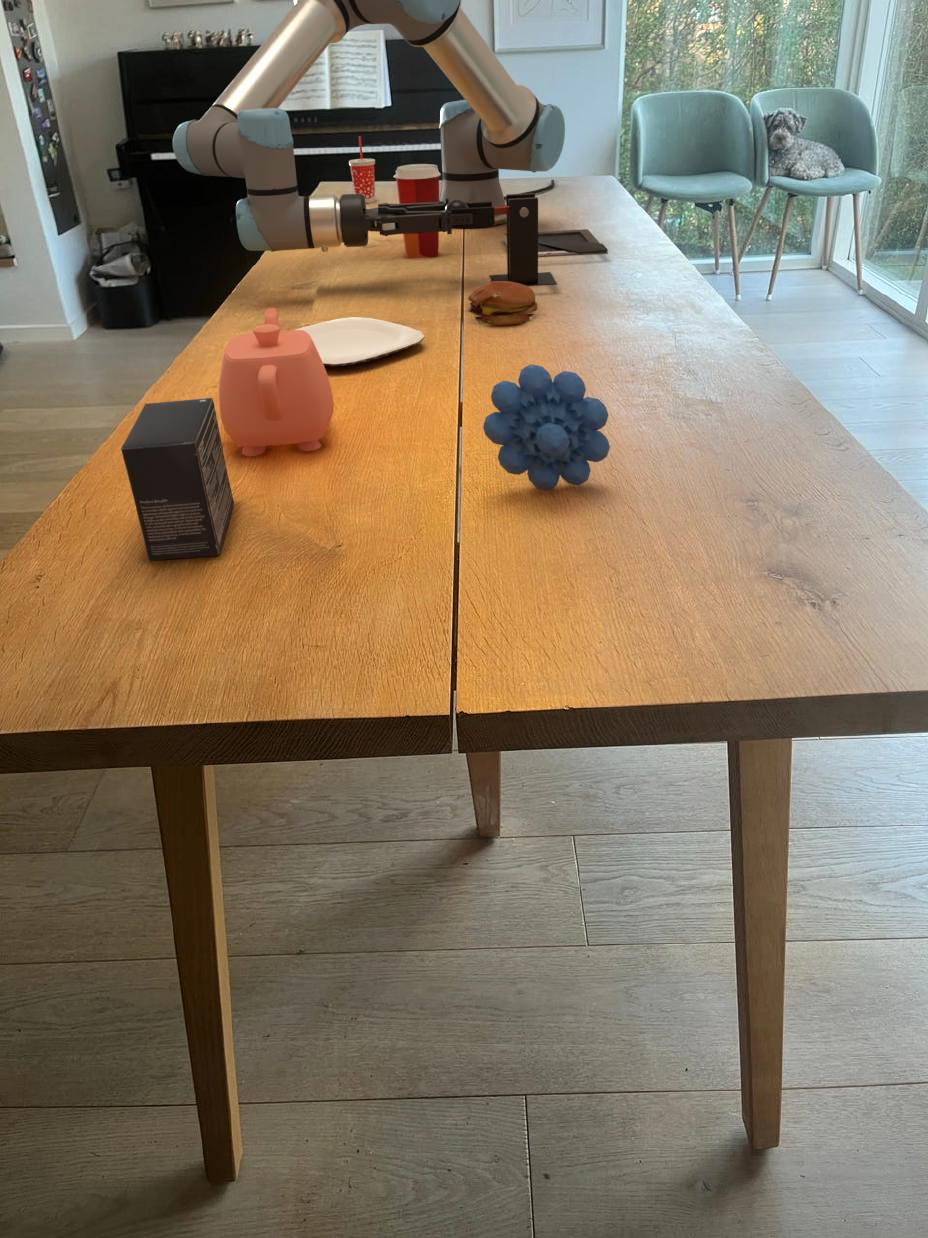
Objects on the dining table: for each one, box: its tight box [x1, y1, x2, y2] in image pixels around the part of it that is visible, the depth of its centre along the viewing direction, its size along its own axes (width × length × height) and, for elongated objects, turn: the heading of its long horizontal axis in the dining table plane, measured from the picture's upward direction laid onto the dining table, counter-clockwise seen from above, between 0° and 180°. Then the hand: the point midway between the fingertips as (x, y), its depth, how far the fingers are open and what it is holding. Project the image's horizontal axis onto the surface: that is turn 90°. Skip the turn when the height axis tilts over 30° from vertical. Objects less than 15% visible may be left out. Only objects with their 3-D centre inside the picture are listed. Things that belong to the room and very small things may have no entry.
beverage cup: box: [348, 135, 376, 204], centre depth 231 cm, size 6×6×14 cm
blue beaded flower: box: [482, 363, 611, 491], centre depth 89 cm, size 12×7×12 cm, turn 95°
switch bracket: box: [488, 193, 558, 287], centre depth 154 cm, size 10×8×14 cm
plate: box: [295, 316, 426, 367], centre depth 132 cm, size 18×18×2 cm
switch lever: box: [445, 200, 509, 215], centre depth 151 cm, size 13×4×4 cm, turn 93°
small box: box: [120, 397, 235, 561], centre depth 85 cm, size 11×6×10 cm, turn 5°
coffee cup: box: [393, 163, 442, 260], centre depth 177 cm, size 8×8×15 cm
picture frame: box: [504, 228, 609, 258], centre depth 180 cm, size 16×2×21 cm
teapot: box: [218, 307, 335, 457], centre depth 104 cm, size 20×12×12 cm, turn 8°
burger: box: [467, 281, 538, 327], centre depth 142 cm, size 10×9×5 cm
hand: (492, 213), depth 151 cm, fingers closed on switch lever, 4 cm apart
